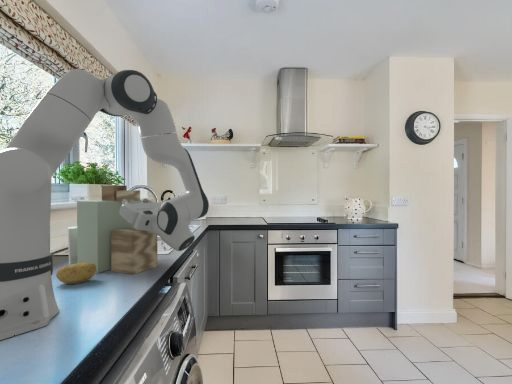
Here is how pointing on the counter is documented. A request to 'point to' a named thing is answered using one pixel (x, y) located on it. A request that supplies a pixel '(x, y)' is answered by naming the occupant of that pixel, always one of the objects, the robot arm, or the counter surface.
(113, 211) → the large sage green box
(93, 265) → the potato
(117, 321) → the counter surface
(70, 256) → the skincare box
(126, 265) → the low oak block
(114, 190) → the walnut handle block
